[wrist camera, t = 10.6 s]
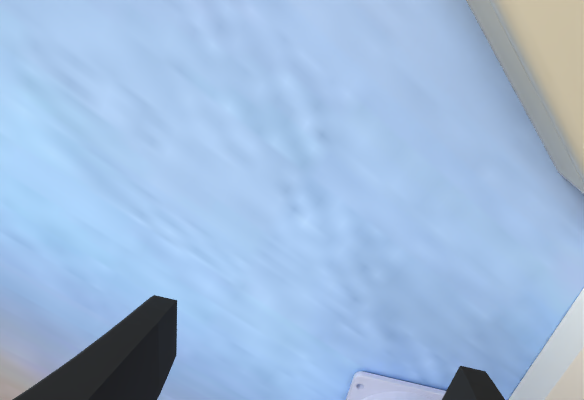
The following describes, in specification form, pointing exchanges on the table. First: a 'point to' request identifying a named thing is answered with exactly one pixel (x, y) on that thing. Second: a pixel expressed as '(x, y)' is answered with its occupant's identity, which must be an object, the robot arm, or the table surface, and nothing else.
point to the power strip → (558, 362)
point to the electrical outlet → (543, 70)
